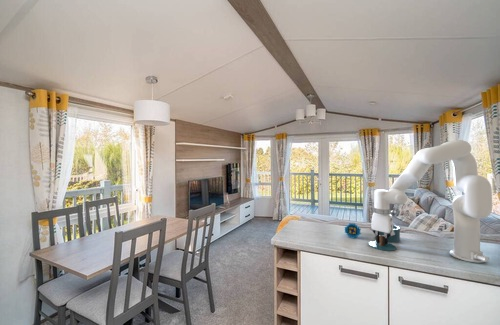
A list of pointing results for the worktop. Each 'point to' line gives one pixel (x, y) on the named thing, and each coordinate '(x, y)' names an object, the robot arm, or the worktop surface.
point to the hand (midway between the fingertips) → (381, 243)
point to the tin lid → (382, 245)
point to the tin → (395, 237)
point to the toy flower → (352, 230)
